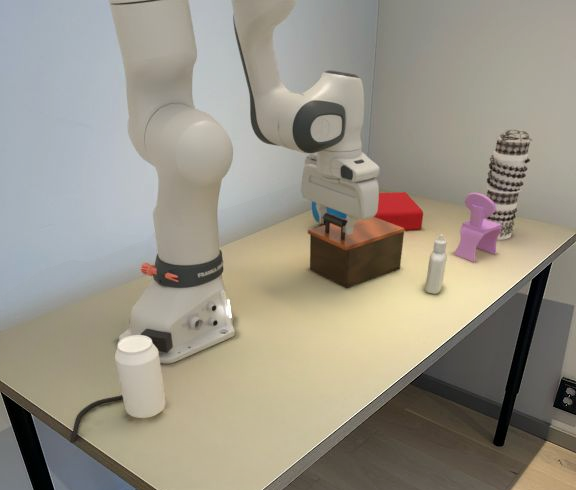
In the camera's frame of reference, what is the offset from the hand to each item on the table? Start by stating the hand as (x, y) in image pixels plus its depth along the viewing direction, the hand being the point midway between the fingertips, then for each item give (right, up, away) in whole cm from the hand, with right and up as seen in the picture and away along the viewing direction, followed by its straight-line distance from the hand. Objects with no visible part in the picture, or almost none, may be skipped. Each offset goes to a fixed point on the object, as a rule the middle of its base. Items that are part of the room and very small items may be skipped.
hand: (336, 228), depth 125 cm
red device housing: (+17, +12, +37) cm, 43 cm away
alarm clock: (+2, +10, +34) cm, 35 cm away
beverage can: (-32, -37, -34) cm, 60 cm away
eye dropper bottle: (+21, -13, +1) cm, 25 cm away
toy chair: (+35, -2, +17) cm, 39 cm away
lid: (+5, 0, +4) cm, 6 cm away
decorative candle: (+44, +6, +28) cm, 52 cm away
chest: (+5, -7, +10) cm, 13 cm away
